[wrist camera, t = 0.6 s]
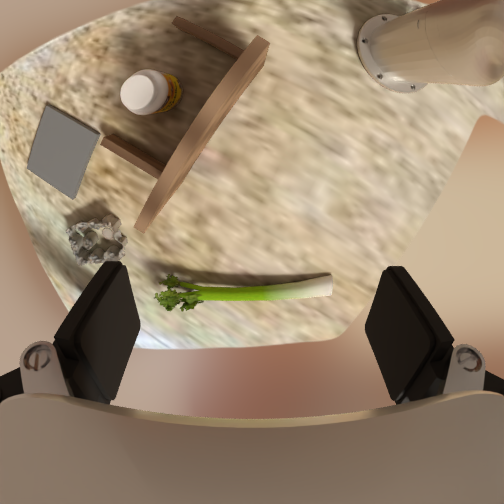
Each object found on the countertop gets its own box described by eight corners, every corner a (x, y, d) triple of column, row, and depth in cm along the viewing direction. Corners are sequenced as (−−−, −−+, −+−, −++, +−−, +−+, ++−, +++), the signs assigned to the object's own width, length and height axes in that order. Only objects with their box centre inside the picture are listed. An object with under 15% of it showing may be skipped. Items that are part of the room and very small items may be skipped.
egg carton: (120, 210, 42) (110, 221, 39) (132, 251, 46) (124, 264, 43) (71, 219, 43) (60, 229, 39) (85, 256, 47) (74, 268, 43)
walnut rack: (182, 21, 28) (140, -18, 14) (263, 66, 31) (269, 42, 18) (109, 140, 36) (44, 169, 22) (181, 184, 40) (143, 233, 26)
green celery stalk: (324, 291, 52) (162, 300, 51) (327, 257, 50) (156, 266, 48) (334, 309, 47) (156, 320, 45) (339, 273, 44) (147, 283, 42)
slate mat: (49, 104, 32) (46, 105, 31) (100, 133, 36) (97, 134, 35) (30, 166, 37) (26, 168, 36) (75, 197, 41) (72, 199, 40)
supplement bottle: (175, 116, 35) (150, 123, 26) (140, 105, 34) (107, 110, 25) (190, 79, 32) (168, 73, 24) (153, 69, 31) (122, 63, 22)
